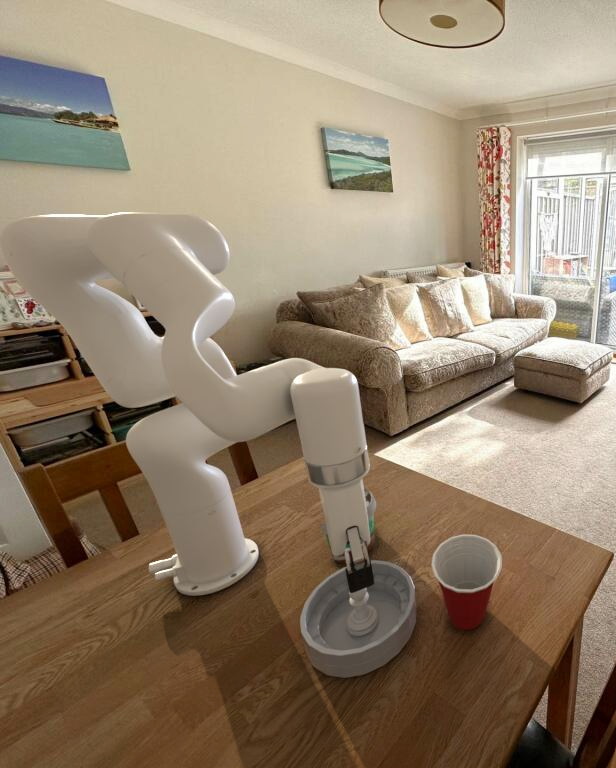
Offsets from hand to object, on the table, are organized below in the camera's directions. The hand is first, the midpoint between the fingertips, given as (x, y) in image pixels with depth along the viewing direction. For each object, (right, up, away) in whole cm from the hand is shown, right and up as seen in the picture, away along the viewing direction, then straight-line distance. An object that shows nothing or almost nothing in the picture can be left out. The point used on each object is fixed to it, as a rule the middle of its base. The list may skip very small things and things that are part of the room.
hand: (356, 563), depth 59 cm
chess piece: (-1, -12, +5) cm, 13 cm away
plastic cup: (+16, -12, +7) cm, 21 cm away
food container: (-6, -6, +20) cm, 22 cm away
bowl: (-1, -12, +5) cm, 13 cm away
